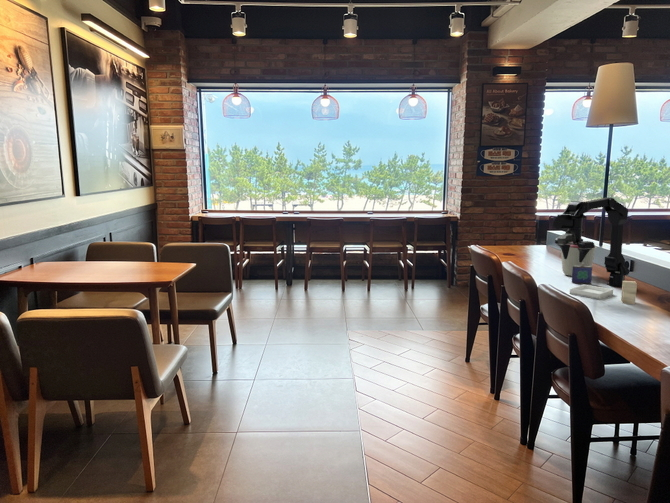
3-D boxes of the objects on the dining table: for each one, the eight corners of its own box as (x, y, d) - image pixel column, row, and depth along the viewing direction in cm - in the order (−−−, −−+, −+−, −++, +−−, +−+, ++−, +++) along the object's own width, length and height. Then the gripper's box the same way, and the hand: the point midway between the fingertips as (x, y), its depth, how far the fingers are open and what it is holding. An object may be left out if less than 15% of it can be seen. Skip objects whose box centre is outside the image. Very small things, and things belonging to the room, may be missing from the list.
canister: (595, 273, 263) (598, 236, 259) (594, 280, 247) (597, 240, 244) (559, 270, 272) (562, 234, 268) (556, 276, 257) (558, 238, 253)
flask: (590, 283, 242) (591, 262, 240) (592, 284, 239) (593, 263, 237) (570, 282, 244) (572, 262, 242) (572, 283, 241) (573, 263, 239)
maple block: (621, 300, 209) (622, 280, 207) (633, 301, 207) (634, 281, 205) (622, 303, 204) (624, 282, 203) (635, 304, 203) (637, 283, 201)
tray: (583, 289, 229) (583, 284, 228) (612, 294, 218) (613, 289, 218) (569, 293, 221) (570, 288, 220) (599, 299, 210) (599, 294, 210)
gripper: (546, 226, 228) (544, 258, 231) (576, 231, 211) (574, 265, 213) (565, 225, 232) (563, 257, 234) (596, 230, 214) (593, 263, 217)
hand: (572, 260), depth 225 cm, fingers open, 9 cm apart
